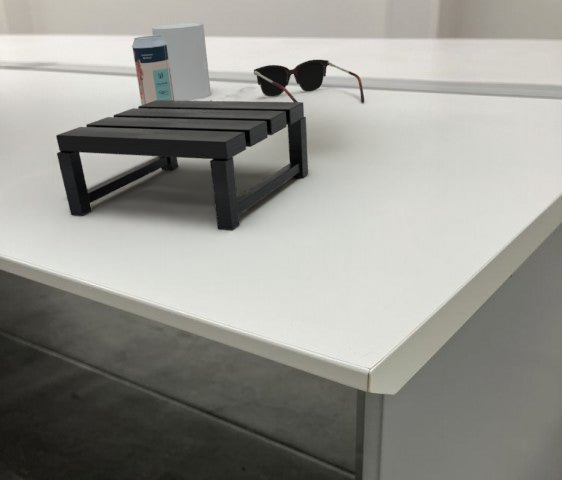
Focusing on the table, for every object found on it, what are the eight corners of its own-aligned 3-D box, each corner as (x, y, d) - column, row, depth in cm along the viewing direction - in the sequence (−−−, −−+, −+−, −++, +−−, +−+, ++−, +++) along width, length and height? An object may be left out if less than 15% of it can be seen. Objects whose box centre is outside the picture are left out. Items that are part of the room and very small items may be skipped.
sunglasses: (327, 88, 120) (327, 57, 117) (372, 108, 108) (373, 74, 105) (254, 98, 116) (252, 67, 113) (292, 120, 104) (291, 85, 101)
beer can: (155, 124, 103) (141, 35, 97) (183, 124, 101) (171, 34, 95) (139, 131, 99) (124, 40, 93) (168, 131, 98) (155, 38, 91)
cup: (200, 99, 119) (191, 22, 113) (219, 105, 113) (211, 24, 107) (156, 106, 116) (145, 27, 110) (173, 112, 110) (162, 29, 103)
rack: (70, 215, 67) (52, 136, 63) (167, 166, 81) (157, 99, 77) (232, 230, 60) (223, 143, 56) (308, 174, 74) (305, 101, 70)
